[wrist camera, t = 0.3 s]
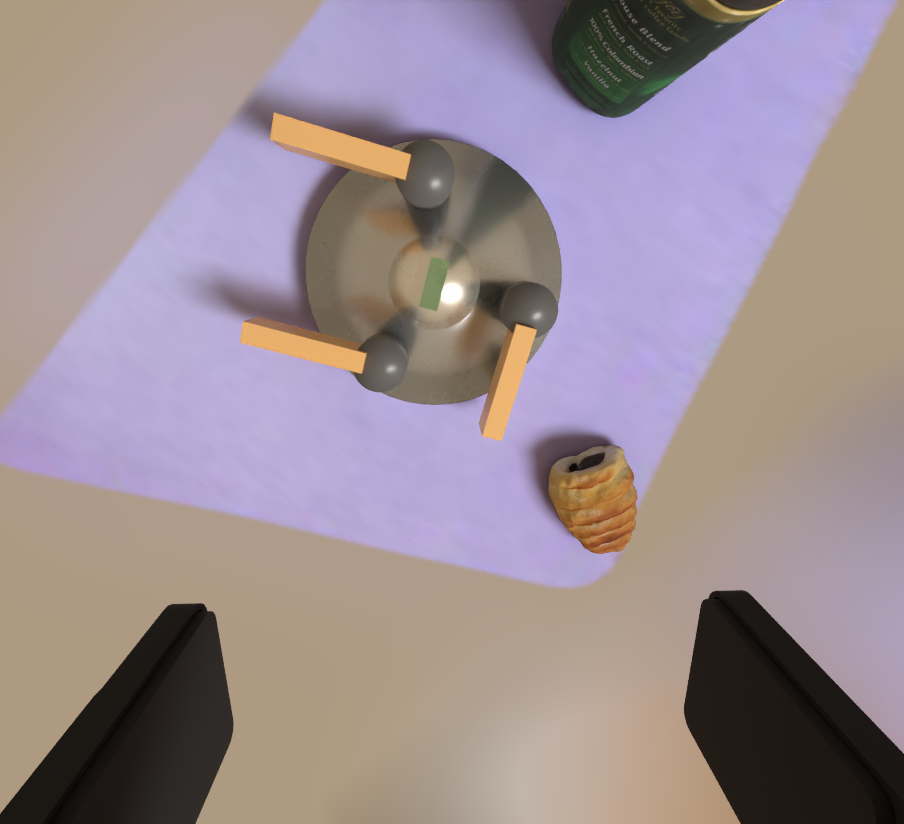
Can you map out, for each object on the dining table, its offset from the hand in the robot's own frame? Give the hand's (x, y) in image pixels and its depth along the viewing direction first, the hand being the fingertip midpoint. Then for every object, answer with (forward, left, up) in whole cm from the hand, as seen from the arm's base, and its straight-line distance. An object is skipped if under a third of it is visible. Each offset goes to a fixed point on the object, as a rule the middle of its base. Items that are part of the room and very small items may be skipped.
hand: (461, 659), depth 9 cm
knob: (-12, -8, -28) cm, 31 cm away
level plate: (-6, -2, -29) cm, 30 cm away
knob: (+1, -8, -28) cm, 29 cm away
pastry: (+7, +15, -30) cm, 34 cm away
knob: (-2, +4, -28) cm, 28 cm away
